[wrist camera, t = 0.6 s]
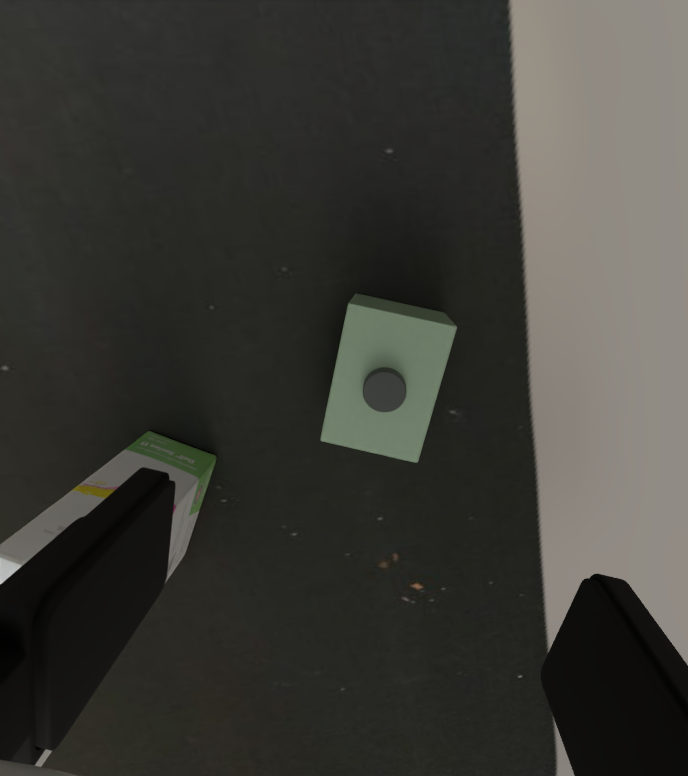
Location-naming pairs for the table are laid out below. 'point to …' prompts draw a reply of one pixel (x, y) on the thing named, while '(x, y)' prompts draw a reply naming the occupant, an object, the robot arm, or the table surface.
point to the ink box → (147, 451)
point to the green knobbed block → (387, 377)
